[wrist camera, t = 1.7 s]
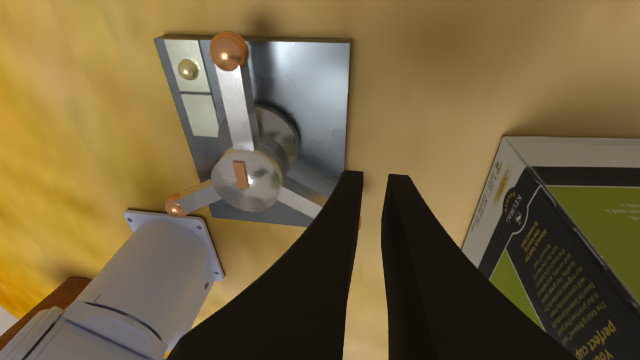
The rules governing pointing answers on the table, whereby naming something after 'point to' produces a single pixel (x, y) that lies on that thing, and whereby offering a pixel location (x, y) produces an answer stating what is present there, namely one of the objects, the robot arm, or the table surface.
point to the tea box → (566, 239)
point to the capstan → (248, 146)
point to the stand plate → (273, 90)
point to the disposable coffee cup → (49, 305)
